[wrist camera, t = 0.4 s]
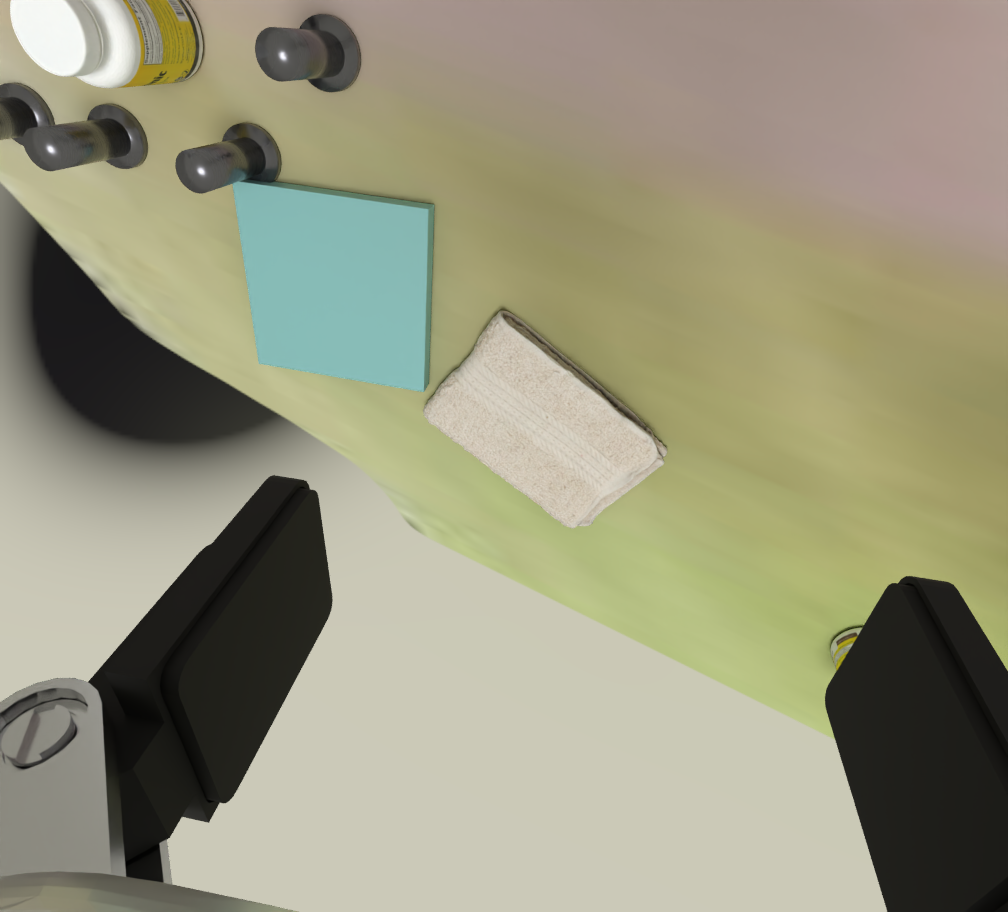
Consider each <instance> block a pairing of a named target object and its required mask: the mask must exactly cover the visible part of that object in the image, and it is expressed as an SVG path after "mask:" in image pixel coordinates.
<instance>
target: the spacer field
mask: <svg viewBox="0 0 1008 912" xmlns="http://www.w3.org/2000/svg"><path fill="white" fill-rule="evenodd" d="M255 52H256V57H257V61H258V63H259V65H260V67H261V69H262V70H263V71H264V73H265V74H266V75H267V76H269V77H270V78H272V79H274V80H276V81H293V80H304V79H307V80H308V81H309V82H310V83H311V84H312V85H314V86H315V87H317V88H318V89H320V90H323V91H326V92H337V91H342V90H345V89H347V88H348V87H350V86H351V85H352V84H353V83H354V81H355V80H356V78H357V76H358V73H359V70H360V64H361V55H360V49H359V45H358V42H357V40H356V37H355V36H354V34H353V32H352V31H351V29H350V28H349V27H348V26H347V25H346V24H345V23H344V22H343V21H341V20H340V19H338V18H336V17H334V16H330V15H322V14H319V15H314V16H311V17H310V18H308V19H307V20H305V21H304V22H303V24H302V25H301V26H300V28H299V29H291V28H277V27H269V28H266V29H264V30H263V31H261V33H260V34H259V35H258V37H257V40H256V45H255ZM10 138H12V139H14V140H15V141H16V142H18V143H19V144H21V145H23V146H24V148H25V150H26V152H27V154H28V156H29V157H30V159H31V160H32V161H33V162H34V163H35V164H36V165H37V166H38V167H40V168H42V169H44V170H46V171H55V170H60V169H65V168H70V167H74V166H79V165H84V164H89V163H94V162H99V161H103V160H105V161H107V162H108V163H110V164H111V165H113V166H115V167H118V168H121V169H129V168H133V167H137V166H139V165H141V164H142V163H143V162H144V160H145V158H146V156H147V150H148V145H147V139H146V136H145V133H144V131H143V129H142V127H141V125H140V123H139V122H138V121H137V119H136V118H135V117H134V116H133V115H132V114H131V113H130V112H128V111H127V110H126V109H124V108H122V107H120V106H118V105H114V104H106V105H99V106H96V107H95V108H93V109H92V110H91V112H90V114H89V116H88V120H87V121H81V122H74V123H66V124H58V125H55V123H54V119H53V116H52V114H51V111H50V110H49V108H48V106H47V104H46V103H45V102H44V100H43V99H42V98H41V97H40V96H39V95H38V94H37V93H36V92H35V91H34V90H32V89H31V88H29V87H27V86H25V85H23V84H19V83H8V84H3V85H0V140H3V139H10ZM280 170H281V156H280V152H279V149H278V147H277V145H276V143H275V141H274V139H273V138H272V137H271V135H270V134H269V133H268V132H267V131H265V130H264V129H263V128H261V127H260V126H258V125H255V124H252V123H241V124H237V125H234V126H232V127H230V128H229V129H228V130H227V131H226V133H225V134H224V137H223V140H222V142H220V143H215V144H211V145H206V146H202V147H197V148H193V149H188V150H184V151H182V152H181V153H179V155H178V156H177V158H176V171H177V174H178V177H179V179H180V180H181V182H182V183H183V184H184V185H185V186H186V187H187V188H188V189H189V190H191V191H193V192H195V193H206V192H209V191H212V190H215V189H218V188H221V187H224V186H227V185H230V184H233V183H236V182H239V181H242V180H245V179H247V180H254V181H261V182H268V183H271V182H274V181H275V180H276V179H277V177H278V176H279V173H280Z"/></svg>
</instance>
